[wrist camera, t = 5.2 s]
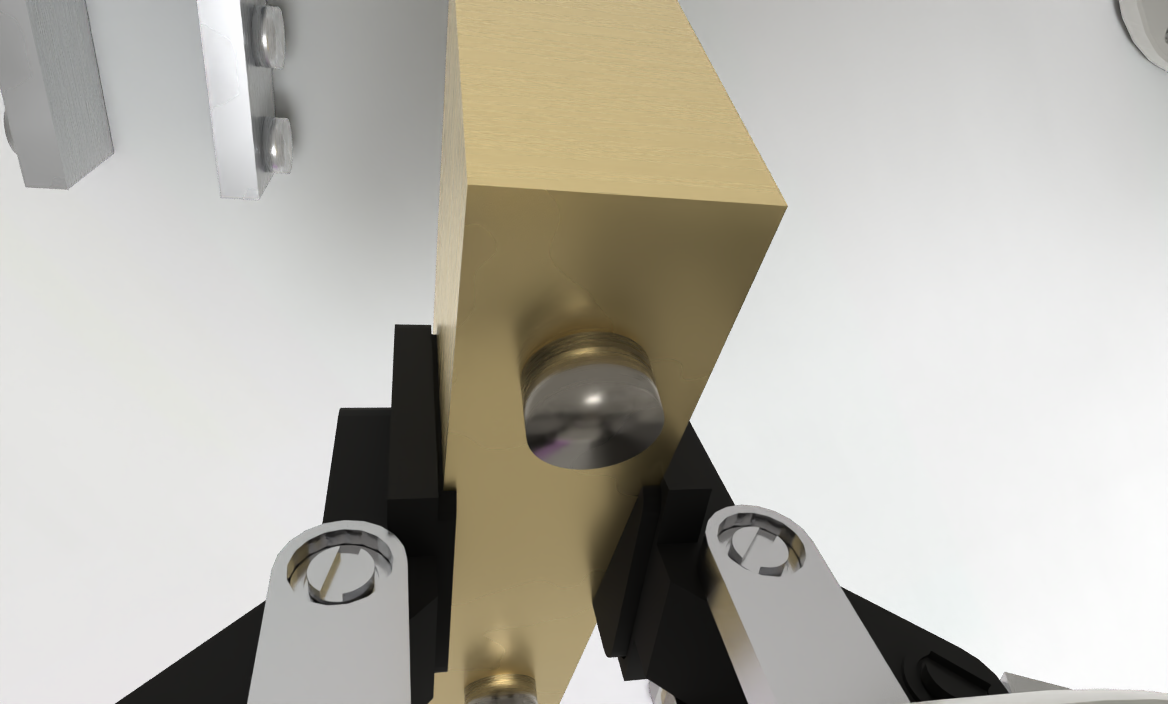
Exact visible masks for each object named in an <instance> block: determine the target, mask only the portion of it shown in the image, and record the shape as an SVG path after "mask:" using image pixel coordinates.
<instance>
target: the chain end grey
mask: <svg viewBox="0 0 1168 704" xmlns="http://www.w3.org/2000/svg"><path fill="white" fill-rule="evenodd" d="M197 9H198V17H199V25H200V33H201V41H202V49H203V58H204V66H205V74H206V82H207V90H208V98H209V107H210V115H211V123H212V131H213V139H214V147H215V156H216V164H217V172H218V180H219V188H220V196H221V198H229V199H247V200H259V199H260V197H261V196H262V194H263V192H264V190H265V188H266V187H267V185H268V183H269V181H270V180H271V178H272V176H273V174H274V173H285V174H289V173H290V171H291V167H292V155H293V147H292V132H291V126H290V122H289V119H288V118H279V117H275V105H274V92H273V80H272V68H275V69H283V66H284V61H285V31H284V22H283V17H282V12H281V9H280V8H279V7H275V6H267V5H266V0H197ZM0 89H1V93H2V97H3V101H4V105H5V112H4V127H5V133H6V137H7V140H8V142H9V144H10V146H11V148H12V150H13V151H14V152H15V153H16V154H17V156H18V160H19V164H20V168H21V171H22V175H23V179H24V183H25V187H31V188H49V189H67V190H68V189H69V188H70V187H72V186H73V185H74V184H76V183H77V182H78V181H79V180H81V179H82V178H83V177H84V176H86V175H87V174H88V173H89V172H91V171H92V170H93V169H95V168H96V167H97V166H98V165H100V164H101V163H102V162H103V161H105V160H106V159H107V158H108V157H110V156H111V155H112V154H113V153H114V151H113V146H112V141H111V136H110V130H109V125H108V120H107V115H106V109H105V104H104V99H103V94H102V88H101V83H100V78H99V73H98V67H97V62H96V57H95V52H94V46H93V41H92V36H91V30H90V25H89V20H88V15H87V9H86V4H85V0H0Z"/></svg>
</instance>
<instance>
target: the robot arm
mask: <svg viewBox="0 0 1168 704" xmlns="http://www.w3.org/2000/svg"><path fill="white" fill-rule="evenodd" d="M1119 4H1120V9H1121V15H1122V18H1123V20H1124V23H1125V25H1126V27H1127V29H1128V31H1129V34H1130V36H1131V38H1132V40H1133V42H1134V43H1135V45H1136V46H1137V47H1138V48H1139V49H1140V50H1141V52H1142V53H1143V54H1144V55H1145V56H1146V57H1147V59H1148V60H1149V61H1150V62H1152V63H1154V64H1155V65H1157V66H1158V67H1160V68H1162V69H1163V70H1165V71H1166V72H1168V0H1119ZM456 516H457V491H443V466H442V443H441V421H440V398H439V376H438V353H437V335H436V334H431V325H398V324H395V334H394V357H393V381H392V404H391V408H340V410H339V415H338V422H337V429H336V435H335V442H334V449H333V456H332V462H331V469H330V476H329V483H328V490H327V496H326V503H325V510H324V517H323V523H322V525H319V526H316V527H314V528H311V529H308V530H306V531H304V532H303V533H301V534H300V535H298V536H297V537H295V538H294V539H292V540H291V541H289V542H288V543H287V545H286V546H285V547H284V548H283V549H282V550H281V551H280V553H279V554H278V555H277V558H276V560H275V562H274V565H273V567H272V570H271V576H270V581H269V587H268V592H267V598H266V600H265V601H264V602H263V603H261V604H260V605H258V606H257V607H255V608H254V609H252V610H251V611H249V612H248V613H247V614H245V615H244V616H242V617H241V618H239V619H238V620H236V621H235V622H233V623H232V624H231V625H229V626H228V627H226V628H225V629H223V630H222V631H220V632H219V633H217V634H216V635H214V636H213V637H212V638H210V639H209V640H207V641H206V642H204V643H203V644H201V645H200V646H198V647H197V648H196V649H194V650H193V651H191V652H190V653H188V654H187V655H185V656H184V657H182V658H181V659H180V660H178V661H177V662H175V663H174V664H172V665H171V666H169V667H168V668H166V669H165V670H164V671H162V672H161V673H159V674H158V675H156V676H155V677H153V678H152V679H150V680H149V681H147V682H146V683H145V684H143V685H142V686H140V687H139V688H137V689H136V690H134V691H133V692H131V693H130V694H129V695H127V696H126V697H124V698H123V699H121V700H120V701H118V702H117V703H115V704H428V703H429V702H430V701H431V700H432V699H433V696H434V673H440V672H447V671H448V659H449V641H450V623H451V606H452V588H453V570H454V553H455V535H456ZM592 605H593V609H594V613H595V617H596V621H597V625H598V629H599V632H600V636H601V640H602V644H603V648H604V651H605V654H606V656H607V657H609V658H611V657H618V660H619V664H620V667H621V671H622V675H623V678H624V681H630V680H641V679H648V680H650V681H651V682H653V683H655V684H656V685H658V686H659V687H661V688H662V690H661V702H662V704H1168V693H1161V692H1153V691H1145V690H1121V689H1075V690H1073V689H1069V688H1065V687H1061V686H1057V685H1053V684H1050V683H1046V682H1042V681H1038V680H1034V679H1030V678H1026V677H1023V676H1019V675H1015V674H1011V673H1007V672H1004V674H1003V675H1002V677H1001V679H1000V680H999V679H998V677H997V676H996V675H995V674H994V673H993V672H992V671H991V670H990V669H989V668H988V667H987V666H985V665H984V664H983V663H982V662H981V661H980V660H979V659H977V658H976V657H974V656H972V655H971V654H969V653H968V652H966V651H964V650H963V649H961V648H959V647H957V646H956V645H954V644H952V643H950V642H948V641H946V640H944V639H942V638H940V637H938V636H936V635H934V634H932V633H930V632H928V631H926V630H924V629H922V628H920V627H919V626H917V625H915V624H913V623H911V622H909V621H907V620H905V619H903V618H901V617H899V616H897V615H895V614H893V613H891V612H889V611H887V610H885V609H883V608H882V607H880V606H878V605H876V604H874V603H872V602H870V601H868V600H866V599H864V598H862V597H860V596H858V595H856V594H854V593H852V592H850V591H848V590H846V589H845V588H843V587H841V586H840V585H839V584H838V582H837V580H836V579H835V577H834V575H833V574H832V572H831V570H830V569H829V567H828V565H827V564H826V562H825V560H824V559H823V557H822V555H821V554H820V552H819V550H818V549H817V547H816V545H815V544H814V542H813V541H812V539H811V538H810V537H809V536H808V535H807V533H806V532H805V531H804V530H803V529H802V528H801V527H800V526H798V525H797V524H796V523H795V522H793V521H792V520H791V519H789V518H787V517H785V516H783V515H781V514H779V513H777V512H775V511H773V510H769V509H766V508H762V507H759V506H751V505H736V506H735V504H734V503H733V501H732V499H731V497H730V495H729V493H728V492H727V490H726V488H725V486H724V484H723V482H722V480H721V479H720V477H719V475H718V473H717V471H716V469H715V468H714V466H713V464H712V462H711V460H710V458H709V456H708V455H707V453H706V451H705V449H704V447H703V445H702V444H701V442H700V440H699V438H698V436H697V434H696V432H695V431H694V429H693V427H692V425H691V423H690V421H689V422H688V425H687V427H686V429H685V431H684V433H683V435H682V438H681V440H680V442H679V444H678V446H677V449H676V451H675V453H674V455H673V457H672V459H671V462H670V464H669V466H668V468H667V470H666V472H665V475H664V477H663V479H662V481H661V483H660V485H652V486H642V488H641V490H640V493H639V495H638V497H637V500H636V502H635V504H634V507H633V509H632V511H631V514H630V516H629V518H628V521H627V523H626V525H625V528H624V530H623V532H622V535H621V537H620V539H619V542H618V544H617V546H616V549H615V551H614V553H613V556H612V558H611V560H610V563H609V565H608V567H607V570H606V572H605V574H604V577H603V579H602V581H601V584H600V586H599V588H598V591H597V593H596V595H595V598H594V600H593V602H592Z"/></svg>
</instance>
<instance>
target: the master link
mask: <svg viewBox="0 0 1168 704" xmlns="http://www.w3.org/2000/svg"><path fill="white" fill-rule="evenodd" d="M787 207H788V205H787V204H786V202H785V200H784V198H783V196H782V194H781V192H780V191H779V189H778V187H777V185H776V183H775V181H774V179H773V178H772V176H771V174H770V172H769V170H768V168H767V166H766V165H765V163H764V161H763V159H762V157H761V155H760V153H759V152H758V150H757V148H756V146H755V144H754V142H753V140H752V139H751V137H750V135H749V133H748V131H747V129H746V127H745V126H744V124H743V122H742V120H741V118H740V116H739V114H738V113H737V111H736V109H735V107H734V105H733V103H732V101H731V100H730V98H729V96H728V94H727V92H726V90H725V88H724V87H723V85H722V83H721V81H720V79H719V77H718V75H717V74H716V72H715V70H714V68H713V66H712V64H711V62H710V61H709V59H708V57H707V55H706V53H705V51H704V49H703V48H702V46H701V44H700V42H699V40H698V38H697V36H696V35H695V33H694V31H693V29H692V27H691V25H690V23H689V22H688V20H687V18H686V16H685V14H684V12H683V10H682V9H681V7H680V5H679V3H678V1H677V0H449V4H448V25H447V47H446V68H445V89H444V110H443V131H442V153H441V174H440V195H439V216H438V238H437V259H436V280H435V301H434V322H433V334H436V335H437V353H438V376H439V398H440V421H441V443H442V466H443V491H457V516H456V535H455V553H454V570H453V588H452V606H451V623H450V641H449V659H448V671H447V672H440V673H434V696H433V699H432V700H431V701H430V702H429V703H428V704H560V701H561V699H562V697H563V695H564V693H565V690H566V688H567V686H568V684H569V682H570V680H571V677H572V675H573V673H574V671H575V669H576V666H577V664H578V662H579V660H580V658H581V656H582V653H583V651H584V649H585V647H586V645H587V643H588V640H589V638H590V636H591V634H592V632H593V629H594V627H595V625H596V623H597V621H596V617H595V613H594V609H593V605H592V602H593V600H594V598H595V595H596V593H597V591H598V588H599V586H600V584H601V581H602V579H603V577H604V574H605V572H606V570H607V567H608V565H609V563H610V560H611V558H612V556H613V553H614V551H615V549H616V546H617V544H618V542H619V539H620V537H621V535H622V532H623V530H624V528H625V525H626V523H627V521H628V518H629V516H630V514H631V511H632V509H633V507H634V504H635V502H636V500H637V497H638V495H639V493H640V490H641V488H642V486H652V485H660V483H661V481H662V479H663V477H664V475H665V472H666V470H667V468H668V466H669V464H670V462H671V459H672V457H673V455H674V453H675V451H676V449H677V446H678V444H679V442H680V440H681V438H682V435H683V433H684V431H685V429H686V427H687V425H688V422H689V420H690V418H691V416H692V414H693V411H694V409H695V407H696V405H697V403H698V401H699V398H700V396H701V394H702V392H703V390H704V387H705V385H706V383H707V381H708V379H709V377H710V374H711V372H712V370H713V368H714V366H715V364H716V361H717V359H718V357H719V355H720V353H721V350H722V348H723V346H724V344H725V342H726V340H727V337H728V335H729V333H730V331H731V329H732V326H733V324H734V322H735V320H736V318H737V316H738V313H739V311H740V309H741V307H742V305H743V302H744V300H745V298H746V296H747V294H748V292H749V289H750V287H751V285H752V283H753V281H754V279H755V276H756V274H757V272H758V270H759V268H760V265H761V263H762V261H763V259H764V257H765V255H766V252H767V250H768V248H769V246H770V244H771V241H772V239H773V237H774V235H775V233H776V231H777V228H778V226H779V224H780V222H781V220H782V217H783V215H784V213H785V211H786V209H787Z"/></svg>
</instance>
